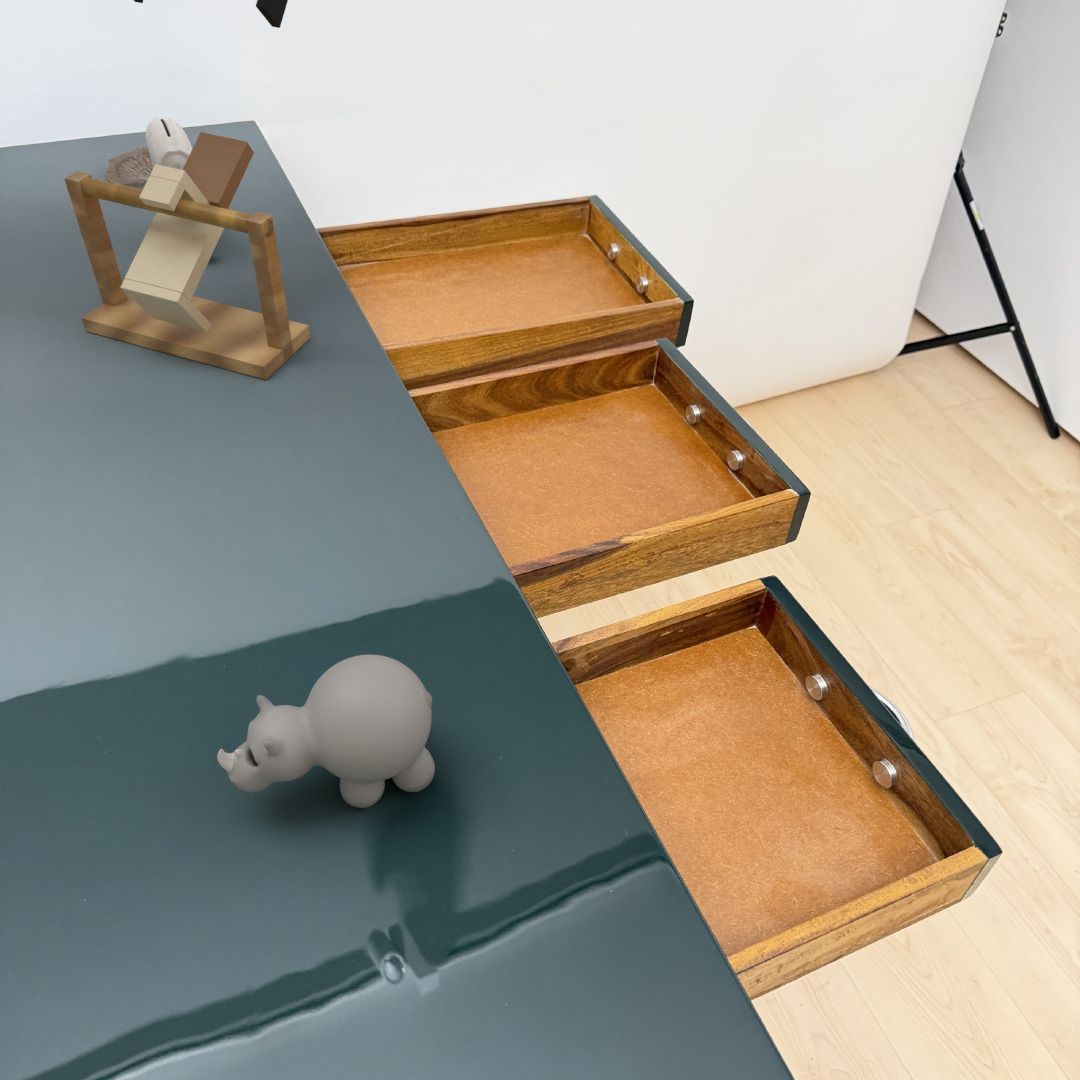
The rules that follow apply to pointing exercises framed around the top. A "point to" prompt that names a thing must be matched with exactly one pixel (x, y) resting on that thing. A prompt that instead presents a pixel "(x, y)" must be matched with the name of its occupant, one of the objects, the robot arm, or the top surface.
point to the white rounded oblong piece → (167, 143)
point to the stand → (233, 332)
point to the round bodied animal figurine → (343, 733)
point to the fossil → (130, 168)
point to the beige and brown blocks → (184, 229)
